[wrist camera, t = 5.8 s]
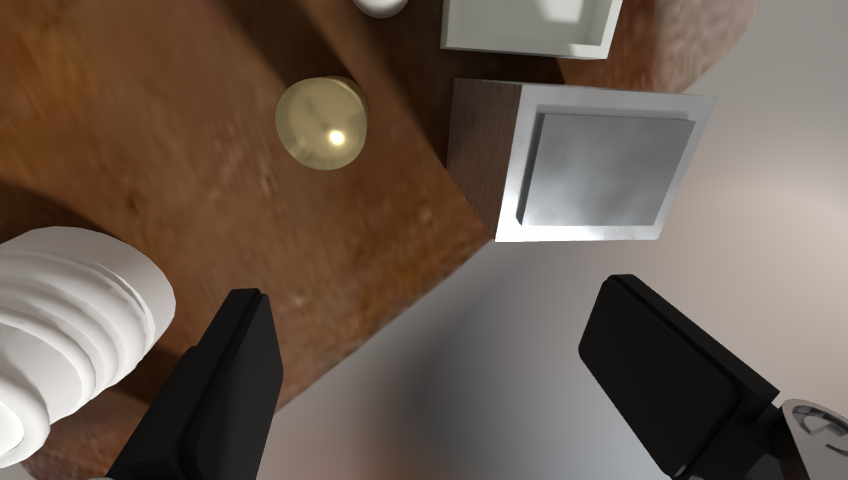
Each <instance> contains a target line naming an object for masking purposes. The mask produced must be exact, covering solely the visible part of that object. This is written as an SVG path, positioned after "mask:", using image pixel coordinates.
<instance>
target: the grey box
mask: <svg viewBox="0 0 848 480" xmlns="http://www.w3.org/2000/svg"><path fill="white" fill-rule="evenodd" d="M717 99H718V97H717V96H704V95H691V94H679V93H666V92H653V91H641V90H628V89H615V88H603V87H590V86H577V85H564V84H548V83H531V82H515V81H498V80H482V79H466V78H454V83H453V94H452V106H451V117H450V129H449V140H448V152H447V163H446V171H447V173H448V174H449V175H450V177H451V178H452V180H453V181H454V183H455V184H456V185H457V187H458V188H459V190H460V191H461V193H462V194H463V195H464V197H465V198H466V200H467V201H468V203H469V204H470V206H471V207H472V208H473V210H474V211H475V213H476V214H477V216H478V217H479V218H480V220H481V221H482V223H483V224H484V226H485V227H486V228H487V230H488V231H489V233H490V234H491V236H492V237H493V239H494V240H495V241H560V240H561V241H564V240H647V239H648V240H652V239H653V240H655V239H658V237H659V234H660V232H661V230H662V227H663V225H664V223H665V220H666V218H667V216H668V213H669V211H670V209H671V206H672V204H673V202H674V199H675V197H676V195H677V192H678V190H679V188H680V185H681V183H682V181H683V178H684V176H685V174H686V171H687V169H688V167H689V164H690V162H691V160H692V157H693V155H694V153H695V150H696V148H697V145H698V143H699V141H700V138H701V136H702V134H703V131H704V129H705V127H706V124H707V122H708V120H709V117H710V115H711V113H712V110H713V108H714V106H715V103H716V101H717Z"/></svg>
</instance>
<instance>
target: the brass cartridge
mask: <svg viewBox="0 0 848 480" xmlns="http://www.w3.org/2000/svg"><path fill="white" fill-rule="evenodd" d="M368 117H369V104H368V100H367V97H366V95H365V93H364V92H363V90H362V89H361V87H360V86H359V85H358V84H357V83H355V82H354V81H353V80H351V79H349V78H347V77H344V76H338V75H333V76H325V77H318V78H311V79H305V80H302V81H299V82H297V83H295V84H293V85H292V86H291V87H289V88H288V89H287V90H286V91H285V92H284V94H283V95H282V97H281V98H280V100H279V103H278V105H277V109H276V118H275V120H276V128H277V132H278V135H279V138H280V140H281V142H282V144H283V145H284V147H285V148H286V150H287V151H288V152H289V153H290V154H291V155H292V156H293V157H294V158H295V159H296V160H298V161H299V162H301V163H302V164H304V165H306V166H309V167H311V168H315V169H319V170H333V169H338V168H341V167H343V166H345V165H347V164H349V163H350V162H351V161H353V160H354V159H355V158H356V157H357V155H358V154H359V153H360V151H361V149H362V147H363V145H364V142H365V138H366V131H367V124H368Z"/></svg>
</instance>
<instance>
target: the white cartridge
mask: <svg viewBox="0 0 848 480" xmlns="http://www.w3.org/2000/svg"><path fill="white" fill-rule="evenodd" d="M352 1H353V2H354V4H355V5H356V6H357V7H358V8H359V9H360V10H361V11H362V12H363V13H365V14H366V15H368V16H370V17H373V18H378V19H385V18H390V17H392V16H394V15H396V14H398V13H399V12H400V11H401V10H402V9H403V8H404V7H405V5H406V4H407V2H408V0H352Z"/></svg>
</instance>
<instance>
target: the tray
mask: <svg viewBox="0 0 848 480" xmlns="http://www.w3.org/2000/svg"><path fill="white" fill-rule="evenodd" d="M621 4H622V0H443V12H442V27H441V41H440V49H450V50H463V51H477V52H491V53H504V54H518V55H532V56H545V57H559V58H573V59H586V60H587V59H607V55H608V52H609V48H610V44H611V41H612V37H613V33H614V30H615V26H616V22H617V19H618V15H619V11H620V8H621Z"/></svg>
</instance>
